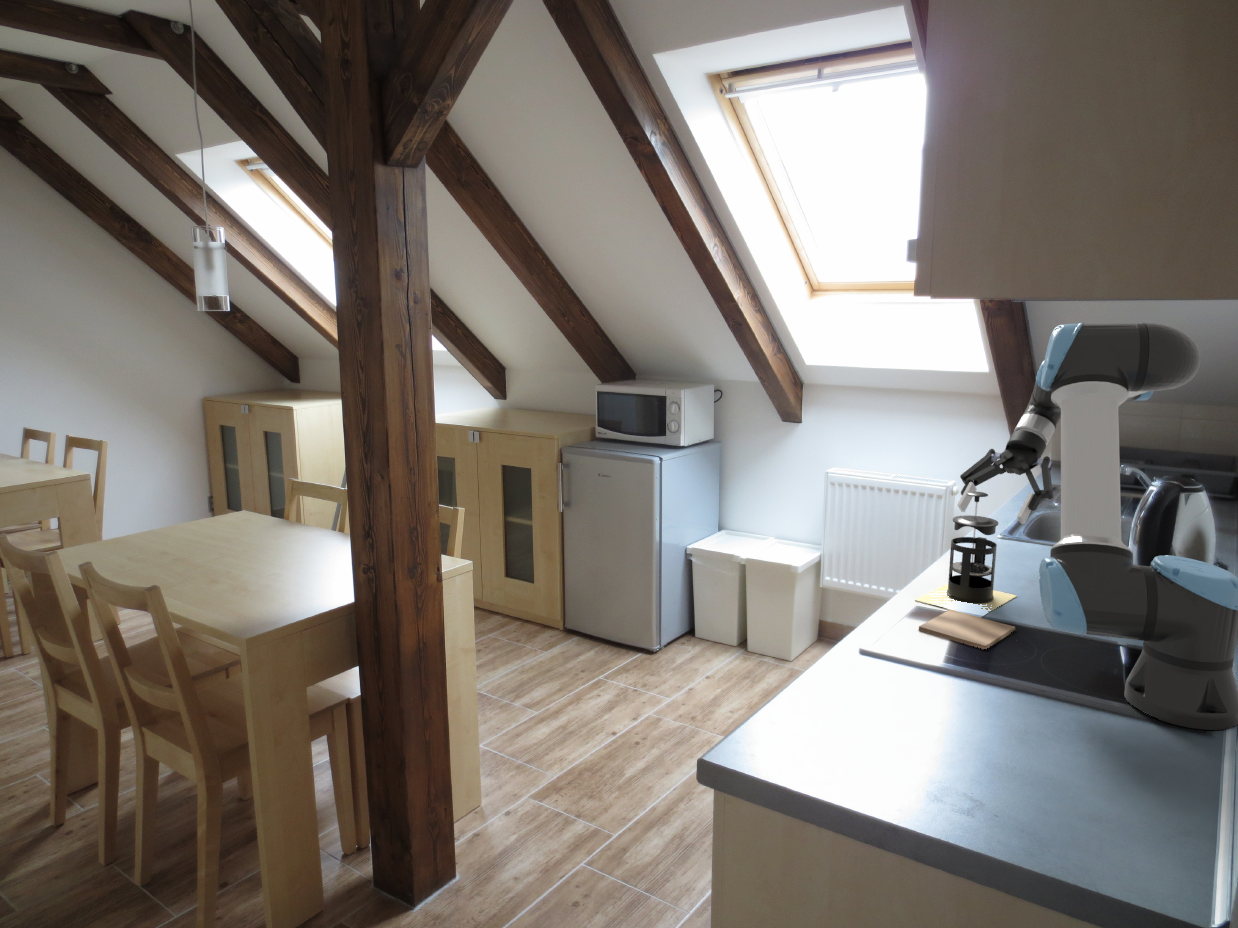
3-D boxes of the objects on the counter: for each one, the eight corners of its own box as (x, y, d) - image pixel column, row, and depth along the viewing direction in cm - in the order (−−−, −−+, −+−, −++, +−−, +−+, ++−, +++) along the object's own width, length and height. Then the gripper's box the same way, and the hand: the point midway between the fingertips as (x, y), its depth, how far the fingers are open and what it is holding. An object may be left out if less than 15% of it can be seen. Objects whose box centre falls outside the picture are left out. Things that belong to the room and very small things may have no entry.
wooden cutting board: (985, 649, 152) (985, 645, 151) (918, 630, 161) (918, 626, 161) (1014, 630, 160) (1015, 626, 160) (950, 612, 170) (950, 609, 169)
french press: (985, 607, 171) (993, 500, 167) (939, 598, 177) (946, 494, 173) (1001, 592, 180) (1009, 490, 176) (957, 583, 186) (964, 484, 182)
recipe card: (979, 618, 167) (979, 617, 166) (914, 600, 177) (915, 599, 177) (1017, 596, 178) (1017, 595, 178) (954, 581, 189) (954, 580, 189)
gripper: (1092, 456, 179) (1052, 536, 173) (982, 442, 198) (943, 513, 192) (1083, 435, 175) (1042, 515, 168) (972, 422, 194) (932, 494, 188)
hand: (989, 514), depth 180 cm, fingers open, 13 cm apart
